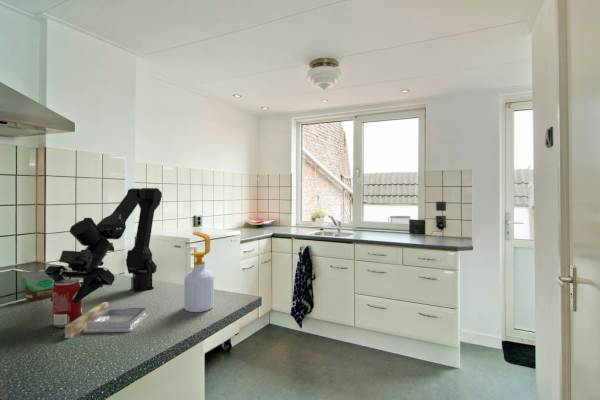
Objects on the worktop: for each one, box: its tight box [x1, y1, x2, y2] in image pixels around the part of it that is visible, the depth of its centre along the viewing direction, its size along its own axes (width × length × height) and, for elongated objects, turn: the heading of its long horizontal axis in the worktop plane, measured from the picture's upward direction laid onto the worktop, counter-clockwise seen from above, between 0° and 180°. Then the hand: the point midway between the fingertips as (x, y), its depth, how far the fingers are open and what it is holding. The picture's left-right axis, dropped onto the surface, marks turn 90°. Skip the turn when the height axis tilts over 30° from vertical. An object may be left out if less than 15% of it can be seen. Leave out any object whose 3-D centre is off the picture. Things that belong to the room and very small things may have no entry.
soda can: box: [51, 278, 83, 328], centre depth 90 cm, size 7×7×12 cm
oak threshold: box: [64, 301, 109, 339], centre depth 91 cm, size 18×2×3 cm, turn 4°
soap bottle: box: [183, 231, 215, 313], centre depth 104 cm, size 9×9×25 cm
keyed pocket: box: [83, 307, 150, 334], centre depth 92 cm, size 12×12×2 cm
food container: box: [20, 264, 63, 301], centre depth 113 cm, size 12×6×10 cm, turn 148°
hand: (62, 302), depth 89 cm, fingers closed on soda can, 6 cm apart
